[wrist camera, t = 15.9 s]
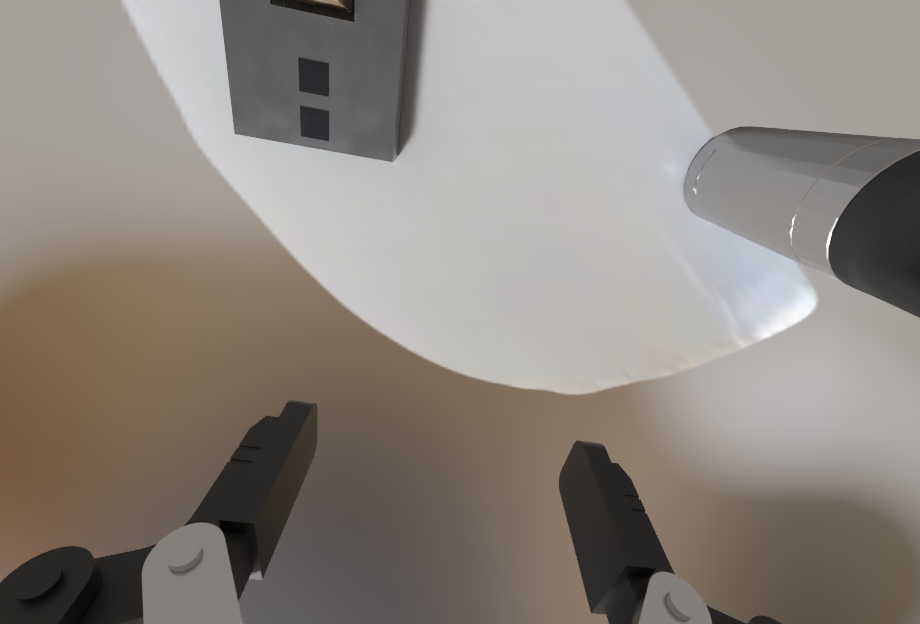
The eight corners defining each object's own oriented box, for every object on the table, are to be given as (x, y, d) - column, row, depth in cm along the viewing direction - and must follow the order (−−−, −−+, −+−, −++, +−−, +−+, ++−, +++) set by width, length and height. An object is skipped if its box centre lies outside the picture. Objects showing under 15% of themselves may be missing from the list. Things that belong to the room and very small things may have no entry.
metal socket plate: (420, -131, 27) (416, -157, 24) (396, 157, 37) (392, 162, 34) (221, -182, 26) (194, -215, 23) (251, 131, 35) (234, 133, 33)
